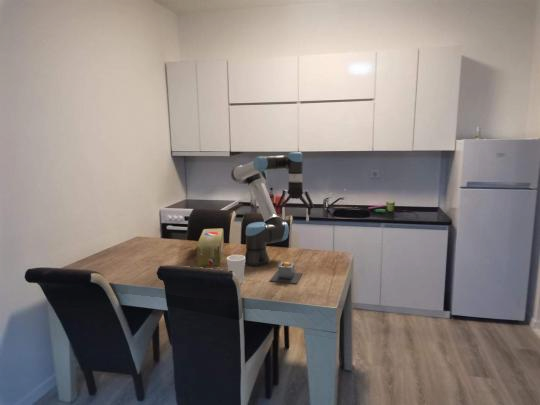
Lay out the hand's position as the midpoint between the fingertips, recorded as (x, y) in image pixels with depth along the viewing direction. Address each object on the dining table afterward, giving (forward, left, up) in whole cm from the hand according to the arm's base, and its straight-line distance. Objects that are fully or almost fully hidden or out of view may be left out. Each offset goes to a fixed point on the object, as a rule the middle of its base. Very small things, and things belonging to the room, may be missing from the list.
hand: (295, 220), depth 194 cm
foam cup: (-25, -27, -28) cm, 46 cm away
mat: (-2, -15, -28) cm, 31 cm away
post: (-2, -15, -28) cm, 31 cm away
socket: (-2, -15, -27) cm, 30 cm away
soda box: (-56, +9, -28) cm, 64 cm away
